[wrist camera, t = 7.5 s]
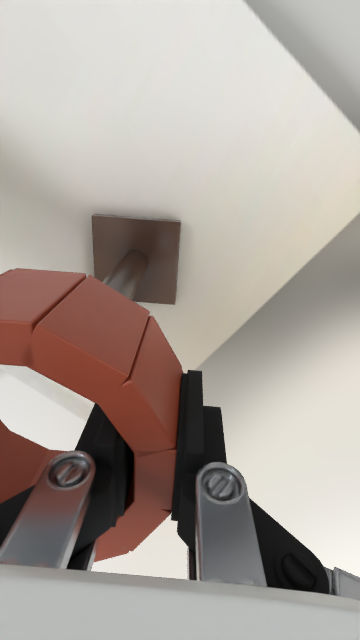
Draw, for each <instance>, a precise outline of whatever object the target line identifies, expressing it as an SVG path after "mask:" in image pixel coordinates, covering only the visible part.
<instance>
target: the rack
mask: <svg viewBox="0 0 360 640" xmlns="http://www.w3.org/2000/svg"><path fill="white" fill-rule="evenodd" d="M180 226H181V221H179V220H165V219H151V218H138V217H124V216H111V215H97V214H95V215H92V231H93V253H94V274H95V278H96V279H98V280H99V281H101V282H103V283H104V284H106V285H107V286H109V287H111V288H112V289H114V290H116V291H117V292H119V293H120V294H122V295H124V296H125V297H127V298H129V299H130V300H132V301H134V302H148V303H161V304H174V305H175V302H176V288H177V272H178V257H179V241H180Z"/></svg>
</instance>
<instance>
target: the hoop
mask: <svg viewBox="0 0 360 640" xmlns="http://www.w3.org/2000/svg"><path fill="white" fill-rule="evenodd" d="M149 313H150V312H149V311H148V310H146V309H145V308H143V307H141V306H140V305H138V304H137V303H135V302H133V301H132V300H130V299H129V298H127V297H125V296H124V295H122V294H120V293H119V292H117V291H116V290H114V289H112V288H111V287H109V286H107V285H106V284H104V283H103V282H101V281H99V280H98V279H96V278H94V277H93V276H91V275H89V276H88V277H87V278H86V274H85V273H73V272H60V271H46V270H32V269H19V268H16V269H14V270H12V269H11V270H9V271H7V272H5V273H3V274H1V275H0V364H3V365H15V366H27V367H29V368H30V369H32V370H34V371H36V372H38V373H40V374H42V375H44V376H46V377H47V378H49V379H51V380H53V381H55V382H57V383H59V384H61V385H62V386H64V387H66V388H68V389H70V390H72V391H74V392H76V393H78V394H79V395H81V396H83V397H85V398H87V399H89V400H91V401H93V402H94V403H96V404H98V405H99V406H100V408H101V409H102V410H103V412H104V413H105V414H106V416H107V417H108V419H109V420H110V421H111V423H112V424H113V425H114V427H115V428H116V430H117V431H118V432H119V434H120V435H121V436H122V438H123V439H124V440H125V442H126V443H127V445H128V446H129V447H130V449H131V450H132V451H133V453H134V468H133V473H132V478H131V482H130V487H129V492H128V497H127V501H126V506H125V512H124V516H118V517H117V522H116V526H115V527H110V529H109V530H108V531H106V532H105V533H104V534H102V535H101V536H100V540H99V545H98V548H97V552H96V555H95V558H94V562H97V561H100V560H104V559H108V558H112V557H115V556H119V555H123V554H127V553H128V552H129V551H133V550H134V549H135V548H136V547H137V546H138V545H139V544H140V543H141V542H142V541H143V540H144V539H145V538H147V536H149V534H151V533H152V532H153V531H154V530H155V529H156V528H157V527H158V526H159V525H160V524H161V523H162V522H163V521H164V520H165V519H166V518H167V517H168V516H169V515H170V514H171V512H172V503H173V491H174V478H175V466H176V454H177V439H178V425H179V410H180V395H181V381H182V373H183V370H182V366H181V364H180V362H179V360H178V359H177V357H176V355H175V353H174V352H173V350H172V348H171V346H170V345H169V343H168V341H167V339H166V338H165V336H164V334H163V332H162V331H161V329H160V327H159V325H158V324H157V322H156V320H155V318H154V317H153V316H149ZM148 316H149V317H148ZM64 452H68V451H59V450H49V449H47V448H45V447H43V446H41V445H39V444H37V443H34V442H32V441H30V440H28V439H26V438H24V437H22V436H20V435H18V434H16V433H14V432H12V431H10V430H9V429H8V428H7V427H6V426H5V425H4V424H3V423H2V421H1V420H0V504H1V503H2V502H4V501H6V500H8V499H10V498H11V497H13V496H15V495H17V494H19V493H20V492H22V491H24V490H26V489H28V488H30V487H31V486H33V485H35V484H36V483H37V481H38V479H39V477H40V476H41V474H42V472H43V470H44V468H45V467H46V466H47V464H48V463H49V462H50V461H51V460H52V459H53V458H54V457H56V456H58V455H60V454H62V453H64Z"/></svg>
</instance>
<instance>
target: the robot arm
mask: <svg viewBox="0 0 360 640" xmlns="http://www.w3.org/2000/svg"><path fill="white" fill-rule="evenodd" d="M202 391H203V389H202V371H194V370H188V373H187V374H184V373H182V381H181V395H180V410H179V425H178V439H177V454H176V466H175V478H174V491H173V503H172V515H171V520H173V521H178V527H177V532H178V535H179V536H180V538H181V539H182V540H183V541H184V542H185V543H186V545H187V546H188V550H187V567H188V568H187V569H188V580H184V579H174V578H162V577H151V576H140V575H127V574H117V573H105V572H93V571H91V569H92V565H93V562H94V558H95V555H96V552H97V548H98V545H99V540H100V536H101V535H102V534H104V533H105V532H106V531H108V530H109V529H110V527H115V526H116V522H117V517H118V516H124V512H125V506H126V501H127V497H128V492H129V487H130V482H131V478H132V473H133V468H134V453H133V451H132V450H131V449H130V447H129V446H128V445H127V443H126V442H125V440H124V439H123V438H122V436H121V435H120V434H119V432H118V431H117V430H116V428H115V427H114V425H113V424H112V423H111V421H110V420H109V419H108V417H107V416H106V414H105V413H104V412H103V410H102V409H101V408H100V406H99V405H98V404H96V403H95V405H94V407H93V409H92V412H91V414H90V416H89V418H88V421H87V423H86V425H85V428H84V430H83V432H82V434H81V437H80V439H79V441H78V444H77V446H76V448H75V450H74V451H68V452H64V453H62V454H60V455H58V456H56V457H54V458H53V459H52V460H51V461H50V462H49V463H48V464H47V466H46V467H45V468H44V470H43V472H42V474H41V476H40V477H39V479H38V481H37V483H36V484H35V485H33V486H31V487H30V488H28V489H26V490H24V491H22V492H20V493H19V494H17V495H15V496H13V497H11V498H10V499H8V500H6V501H4V502H2V503H1V504H0V640H360V578H359V577H357V576H355V575H352V574H350V573H348V572H346V571H343V570H341V569H339V568H336V567H334V570H330V569H328V568H326V567H324V566H323V565H322V564H321V562H320V560H319V559H318V558H317V557H316V556H315V555H314V554H313V553H312V552H311V551H310V550H309V549H308V548H306V547H305V546H304V545H303V544H302V543H300V542H299V541H298V540H297V539H296V538H295V537H294V536H293V535H291V534H290V533H289V532H288V531H287V530H286V529H284V528H283V527H282V526H281V525H280V524H279V523H278V522H276V521H275V520H274V519H273V518H272V517H271V516H270V515H268V514H267V513H266V512H265V511H264V510H263V509H261V508H260V507H259V506H258V505H257V504H256V503H254V502H253V501H252V500H251V499H250V498H249V496H248V491H247V486H246V483H245V480H244V477H243V476H242V475H241V473H240V472H239V471H238V470H237V469H235V468H234V467H233V466H230V465H228V464H227V461H226V452H225V442H224V433H223V425H222V415H221V409H220V407H211V406H203V392H202Z"/></svg>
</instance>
